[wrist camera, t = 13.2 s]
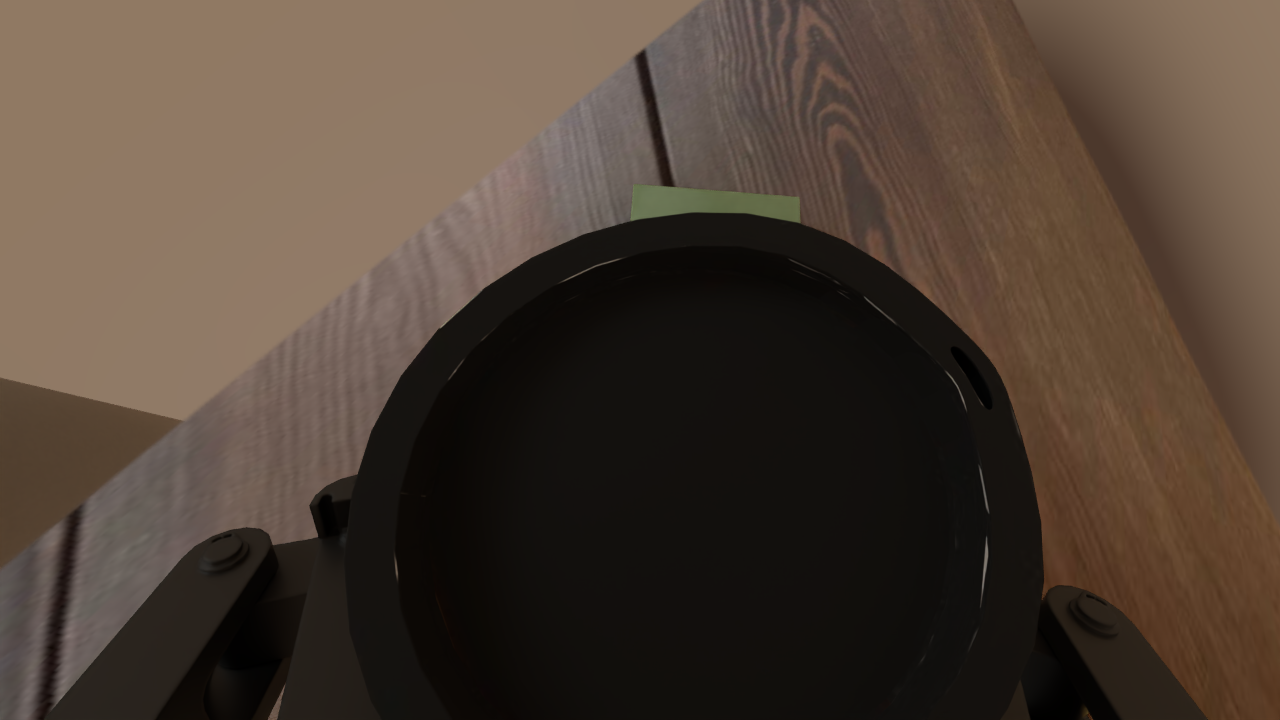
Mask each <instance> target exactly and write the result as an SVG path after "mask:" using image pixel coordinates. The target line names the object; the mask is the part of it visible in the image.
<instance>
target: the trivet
mask: <svg viewBox="0 0 1280 720" xmlns="http://www.w3.org/2000/svg"><path fill="white" fill-rule="evenodd" d="M690 212H709V213H749V214H754V215H760V216H765V217H771V218H776V219H782V220H787V221H793V222H798V223H801V221H800V198H799V197H792V196H779V195H767V194H754V193H742V192H729V191H716V190H704V189H691V188H679V187H666V186H653V185H641V184H634V186H633V196H632V207H631V218H630V221H633V220H637V219H644V218H652V217H660V216H667V215H675V214H682V213H690Z"/></svg>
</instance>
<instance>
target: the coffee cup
mask: <svg viewBox="0 0 1280 720" xmlns="http://www.w3.org/2000/svg"><path fill="white" fill-rule="evenodd" d="M343 562H344V575H345V587H346V599H347V611H348V623H349V633H350V636H351V639H352V643H353V646H354V649H355V652H356V655H357V659H358V662H359V665H360V668H361V672H362V675H363V678H364V681H365V684H366V688H367V691H368V694H369V697H370V701H371V703H372V705H373V706H374V708H375V710H376V712H377V713H378V715H379V717H380V719H381V720H1001V718H1002V717H1003V715H1004V714H1005V712H1006V711H1007V710H1008V708H1009V705H1010V703H1011V700H1012V698H1013V696H1014V693H1015V691H1016V688H1017V686H1018V683H1019V681H1020V679H1021V676H1022V674H1023V671H1024V669H1025V666H1026V664H1027V662H1028V659H1029V657H1030V654H1031V652H1032V649H1033V647H1034V645H1035V638H1036V631H1037V625H1038V618H1039V611H1040V604H1041V598H1042V591H1043V584H1044V570H1043V551H1042V531H1041V519H1040V514H1039V509H1038V503H1037V498H1036V493H1035V488H1034V482H1033V477H1032V472H1031V468H1030V465H1029V461H1028V458H1027V454H1026V450H1025V447H1024V443H1023V440H1022V436H1021V432H1020V429H1019V426H1018V423H1017V420H1016V417H1015V414H1014V410H1013V407H1012V404H1011V402H1010V399H1009V396H1008V393H1007V391H1006V388H1005V386H1004V384H1003V381H1002V379H1001V377H1000V375H999V374H998V372H997V370H996V368H995V367H994V365H993V364H992V362H991V361H990V360H989V358H988V357H987V356H986V355H985V354H984V352H983V351H982V350H981V349H980V348H979V347H978V346H977V345H976V344H975V343H974V342H973V341H972V340H971V339H970V337H969V336H968V335H967V334H965V333H964V332H963V331H962V330H961V329H960V328H959V327H958V326H957V325H956V324H955V323H954V322H953V321H952V320H951V319H950V318H949V317H948V316H947V315H946V314H944V313H943V312H942V311H941V310H940V309H939V308H938V307H937V306H936V305H934V304H933V303H932V302H931V301H930V300H929V299H928V298H927V297H926V296H924V295H923V294H922V293H921V292H920V291H919V290H917V289H916V288H915V287H913V286H912V285H911V284H910V283H908V282H907V281H906V280H904V279H903V278H902V277H901V276H899V275H898V274H897V273H895V272H894V271H893V270H891V269H890V268H889V267H888V266H886V265H885V264H883V263H881V262H880V261H878V260H876V259H875V258H873V257H871V256H870V255H868V254H866V253H865V252H863V251H861V250H860V249H858V248H856V247H855V246H853V245H851V244H850V243H848V242H846V241H844V240H842V239H839V238H837V237H834V236H831V235H829V234H826V233H824V232H821V231H819V230H816V229H814V228H811V227H808V226H806V225H803V224H801V223H798V222H793V221H787V220H782V219H776V218H771V217H765V216H760V215H754V214H749V213H709V212H690V213H682V214H675V215H667V216H660V217H652V218H644V219H637V220H633V221H630V222H626V223H623V224H619V225H616V226H612V227H608V228H605V229H601V230H598V231H594V232H591V233H587V234H584V235H581V236H579V237H577V238H575V239H572V240H570V241H568V242H566V243H563V244H561V245H559V246H557V247H554V248H552V249H550V250H548V251H546V252H543V253H541V254H539V255H537V256H534V257H532V258H531V259H529V260H527V261H526V262H524V263H523V264H521V265H520V266H518V267H517V268H515V269H513V270H512V271H510V272H509V273H507V274H506V275H504V276H503V277H501V278H499V279H498V280H496V281H495V282H493V283H492V284H490V285H489V286H487V287H485V288H484V289H483V290H482V291H480V292H479V293H478V294H477V295H476V296H475V297H474V298H473V299H471V300H470V301H469V302H468V303H467V304H466V305H465V306H464V307H462V308H461V309H460V310H459V311H458V312H457V313H456V314H455V315H453V316H452V317H451V318H450V319H449V320H448V321H447V322H445V323H444V324H443V325H442V326H441V327H440V328H439V329H438V330H437V332H436V333H435V334H434V335H433V337H432V338H431V339H430V340H429V342H428V343H427V344H426V345H425V346H424V348H423V349H422V350H421V351H420V353H419V354H418V355H417V356H416V358H415V359H414V360H413V361H412V363H411V364H410V365H409V366H408V368H407V369H406V370H405V371H404V373H403V374H402V375H401V377H400V379H399V381H398V382H397V384H396V386H395V388H394V390H393V392H392V394H391V396H390V397H389V399H388V401H387V403H386V405H385V407H384V409H383V410H382V412H381V414H380V416H379V418H378V420H377V422H376V423H375V425H374V427H373V429H372V431H371V434H370V437H369V440H368V443H367V447H366V450H365V453H364V456H363V459H362V462H361V465H360V469H359V472H358V475H357V478H356V481H355V484H354V487H353V491H352V494H351V502H350V511H349V519H348V527H347V536H346V544H345V552H344V561H343Z"/></svg>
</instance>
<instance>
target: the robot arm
mask: <svg viewBox="0 0 1280 720" xmlns="http://www.w3.org/2000/svg"><path fill="white" fill-rule="evenodd" d="M356 478H357V475H354V476H350V477H347V478H343V479H340V480H338V481H336V482H334V483H332V484H330V485H328V486H326V487H325V488H324V489H322V490H321V491H320V492H319V493H318V494H316V495H315V497H314V498H313V500H312V502H311V504H310V505H309V506H310V510H311V513H312V516H313V520H314V523H315V527H316V530H317V533H318V537H317V538H313V539H308V540H302V541H296V542H290V543H285V544H279V545H272V542H271V539H270V536H269V534H268V533H266V532H264V531H263V530H261V529H257V528H247V527H246V528H240V529H233V530H229V531H226V532H223V533H220V534H218V535H215V536H212V537H210V538H209V539H207V540H205V541H203V542H202V543H200V544H198V545H196V546H195V547H194V548H193V549H192V550H190V551H189V552H188V553H187V554H186V555H185V556H184V557H183V558H182V559H181V560H180V561H179V562H178V563H177V565H176V566H175V567H174V568H173V569H172V570H171V572H170V573H169V574H168V575H167V576H166V577H165V579H164V580H163V581H162V582H161V583H160V584H159V586H158V587H157V588H156V589H155V590H154V591H153V593H152V594H151V595H150V596H149V597H148V598H147V600H146V601H145V602H144V603H143V604H142V605H141V607H140V608H139V609H138V610H137V611H136V612H135V614H134V615H133V616H132V617H131V618H130V619H129V621H128V622H127V623H126V624H125V625H124V626H123V628H122V629H121V630H120V631H119V632H118V633H117V635H116V636H115V637H114V638H113V639H112V640H111V642H110V643H109V644H108V645H107V646H106V647H105V649H104V650H103V651H102V652H101V653H100V654H99V656H98V657H97V658H96V659H95V660H94V661H93V663H92V664H91V665H90V666H89V667H88V668H87V670H86V671H85V672H84V673H83V674H82V675H81V677H80V678H79V679H78V680H77V681H76V683H75V684H74V685H73V686H72V687H71V688H70V690H69V691H68V692H67V693H66V694H65V695H64V697H63V698H62V699H61V700H60V701H59V702H58V704H57V705H56V706H55V707H54V708H53V709H52V711H51V712H50V713H49V714H48V715H47V716H46V718H45V719H44V720H267V719H268V717H269V715H270V713H271V711H272V709H273V707H274V705H275V703H276V701H277V699H278V697H279V695H280V693H281V691H282V689H283V687H284V685H285V683H286V685H285V689H284V693H283V697H282V701H281V706H280V710H279V714H278V718H277V720H381V719H380V717H379V715H378V713H377V712H376V710H375V708H374V706H373V705H372V703H371V701H370V697H369V694H368V691H367V688H366V684H365V681H364V678H363V675H362V672H361V668H360V665H359V662H358V659H357V655H356V652H355V649H354V646H353V643H352V639H351V636H350V633H349V623H348V611H347V599H346V587H345V575H344V562H343V561H344V552H345V544H346V536H347V527H348V519H349V511H350V502H351V494H352V491H353V487H354V484H355V481H356ZM1088 713H1090V715H1091V716H1092V718H1093V720H1208V719H1207V718H1206V716H1205V715H1204V714H1203V712H1202V711H1201V710H1200V709H1199V707H1198V706H1197V705H1196V703H1195V702H1194V701H1193V700H1192V698H1191V697H1190V696H1189V694H1188V693H1187V692H1186V691H1185V689H1184V688H1183V687H1182V685H1181V684H1180V683H1179V682H1178V680H1177V679H1176V678H1175V676H1174V675H1173V674H1172V673H1171V671H1170V670H1169V669H1168V667H1167V666H1166V665H1165V663H1164V662H1163V661H1162V660H1161V658H1160V657H1159V656H1158V654H1157V653H1156V652H1155V651H1154V649H1153V648H1152V647H1151V645H1150V644H1149V643H1148V642H1147V640H1146V639H1145V638H1144V636H1143V635H1142V634H1141V633H1140V631H1139V630H1138V629H1137V627H1136V626H1135V625H1134V624H1133V623H1132V622H1131V621H1130V620H1129V619H1128V618H1127V617H1126V616H1125V615H1124V614H1123V613H1122V612H1121V611H1120V610H1119V609H1117V608H1116V607H1114V606H1113V605H1112V604H1110V603H1109V602H1107V601H1106V600H1105V599H1103V598H1101V597H1099V596H1097V595H1095V594H1093V593H1091V592H1089V591H1086V590H1083V589H1080V588H1076V587H1073V586H1063V585H1057V586H1055V587H1053V588H1051V589H1049V590H1048V592H1047V593H1046V595H1045V597H1044V598H1043V600H1041V604H1040V611H1039V618H1038V625H1037V631H1036V638H1035V645H1034V647H1033V649H1032V652H1031V654H1030V657H1029V659H1028V662H1027V664H1026V666H1025V669H1024V671H1023V674H1022V676H1021V679H1020V681H1019V683H1018V686H1017V688H1016V691H1015V693H1014V696H1013V698H1012V700H1011V703H1010V705H1009V708H1008V710H1007V711H1006V712H1005V714H1004V715H1003V717H1002V718H1001V720H1090V719H1089V717H1088V716H1087V714H1088Z"/></svg>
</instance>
